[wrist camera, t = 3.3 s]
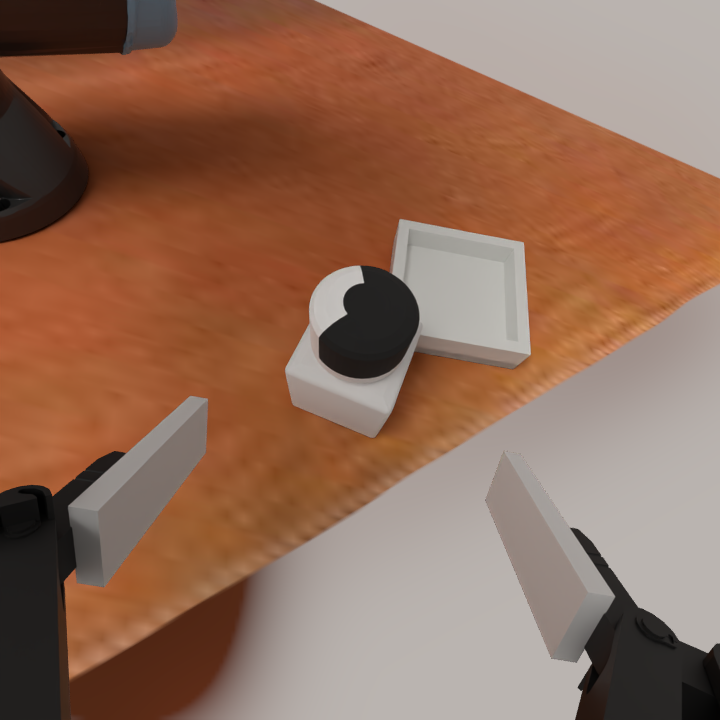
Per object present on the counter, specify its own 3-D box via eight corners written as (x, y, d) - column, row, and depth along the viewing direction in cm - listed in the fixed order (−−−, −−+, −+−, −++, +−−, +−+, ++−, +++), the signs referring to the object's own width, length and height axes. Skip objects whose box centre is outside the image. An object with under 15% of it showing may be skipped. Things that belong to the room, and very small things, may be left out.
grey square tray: (379, 345, 32) (384, 328, 29) (393, 241, 37) (399, 218, 34) (512, 369, 32) (530, 354, 29) (508, 263, 37) (523, 242, 34)
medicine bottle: (403, 363, 31) (448, 276, 20) (374, 440, 28) (409, 387, 17) (326, 333, 32) (330, 232, 21) (290, 405, 29) (273, 332, 18)
